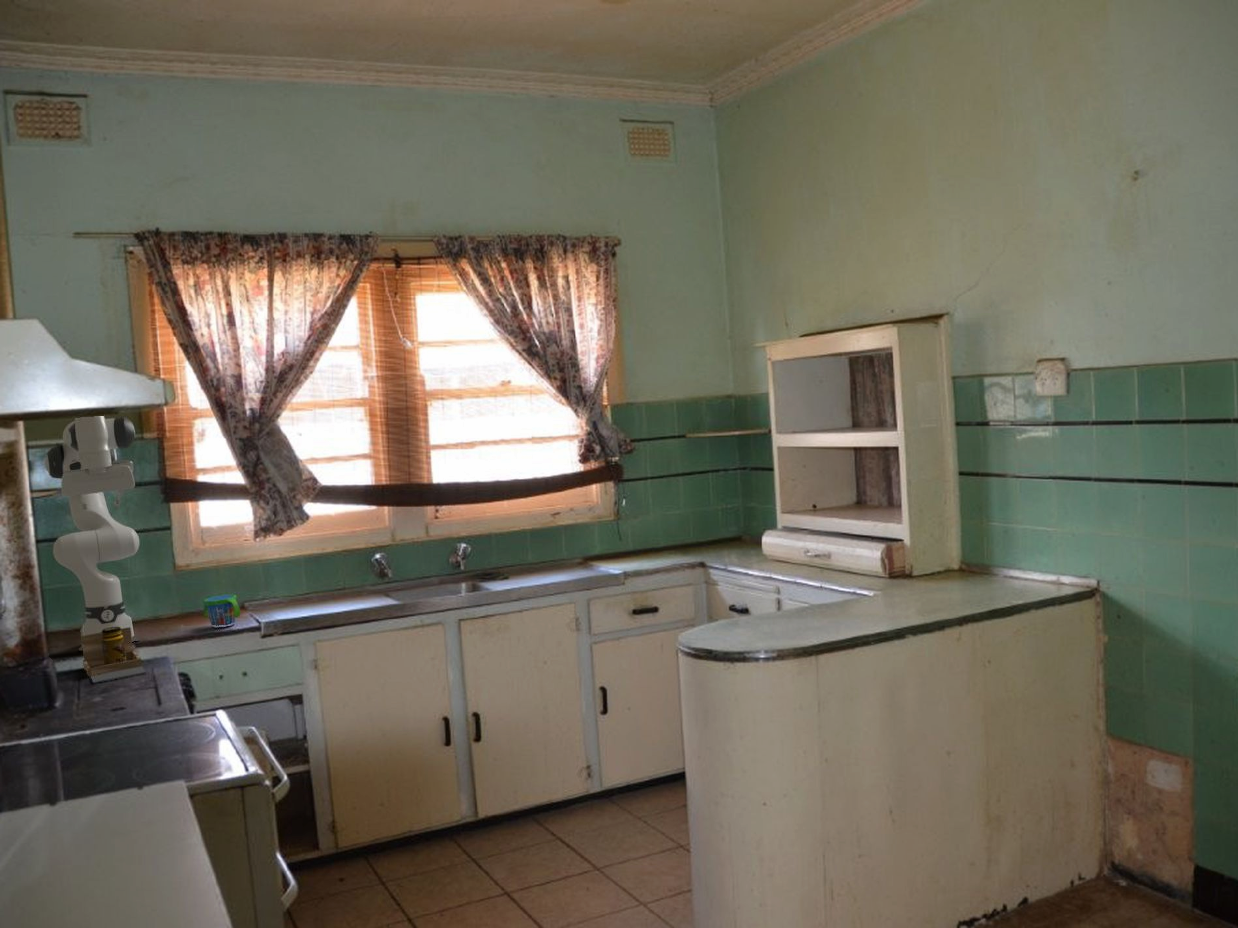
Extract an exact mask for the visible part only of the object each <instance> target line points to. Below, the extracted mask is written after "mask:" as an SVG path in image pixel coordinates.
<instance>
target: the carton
mask: <svg viewBox="0 0 1238 928" xmlns="http://www.w3.org/2000/svg"><path fill="white" fill-rule="evenodd" d="M121 632H122V633H121V635H122V636H123V639H124V646H125V654H126V661H125V662H120V663H115V664H109V665H105V663H104V656H103V648H102V638H103V636H102V632H99V633H93V634H88V635H82V636H81V635H80V639H81V644H82V647H83V652H82V653H83V660H82V664H83V665H82V666H83V669H84V671H85V670H86V671H87V673H86V675H87V674H88V675H87V677H88V676H94V675H98V674H105V673H110V672H115V671H120V670H126V669H131V668H136V667H141V666H142V667H143V661H142V658H141V656H140V655H139V654H138V653H137V652H136V650H134V643H132V636H131V628H130V627H127V628H122V629H121ZM86 671H85V672H86Z"/></svg>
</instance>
